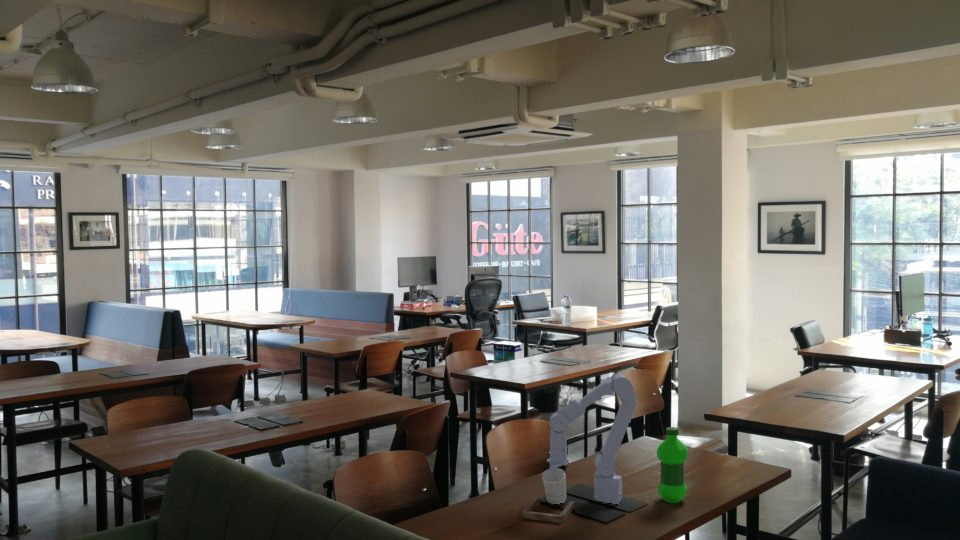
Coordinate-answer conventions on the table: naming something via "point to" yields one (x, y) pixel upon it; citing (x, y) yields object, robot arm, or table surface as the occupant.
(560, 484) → the white cup
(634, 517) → the table surface
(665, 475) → the plastic bottle
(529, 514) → the walnut bay
